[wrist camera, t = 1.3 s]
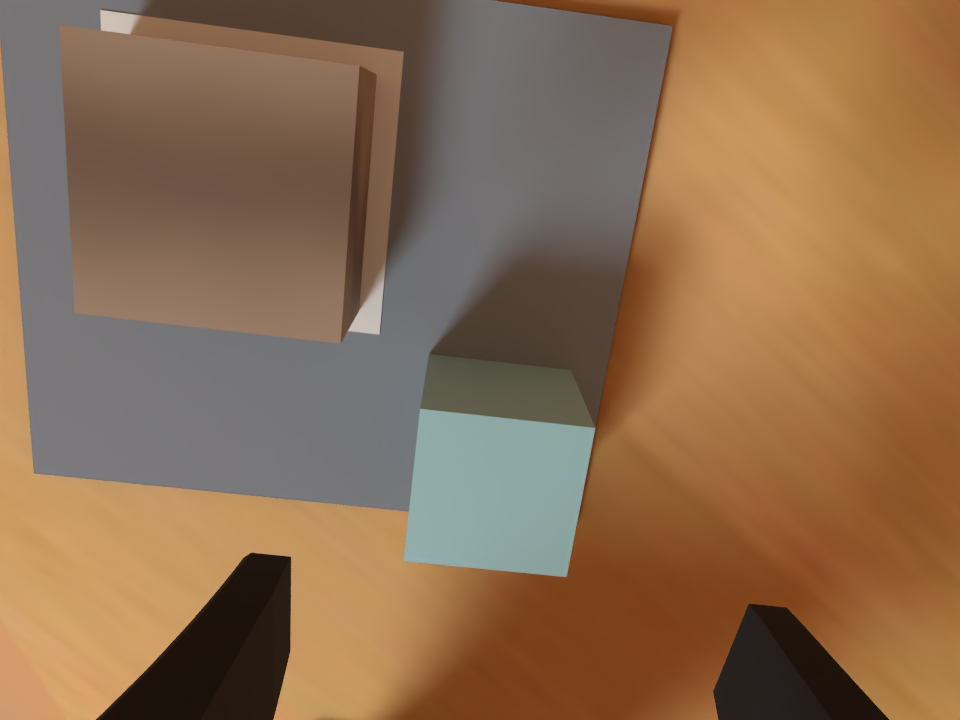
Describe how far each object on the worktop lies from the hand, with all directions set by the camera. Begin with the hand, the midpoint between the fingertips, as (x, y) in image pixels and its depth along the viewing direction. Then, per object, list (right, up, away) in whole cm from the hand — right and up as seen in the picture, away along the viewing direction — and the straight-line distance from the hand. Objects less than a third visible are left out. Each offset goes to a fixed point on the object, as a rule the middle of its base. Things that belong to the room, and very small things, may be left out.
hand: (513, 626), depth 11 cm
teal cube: (0, +2, +9) cm, 10 cm away
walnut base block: (-6, +9, +7) cm, 13 cm away
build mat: (-5, +7, +8) cm, 11 cm away
